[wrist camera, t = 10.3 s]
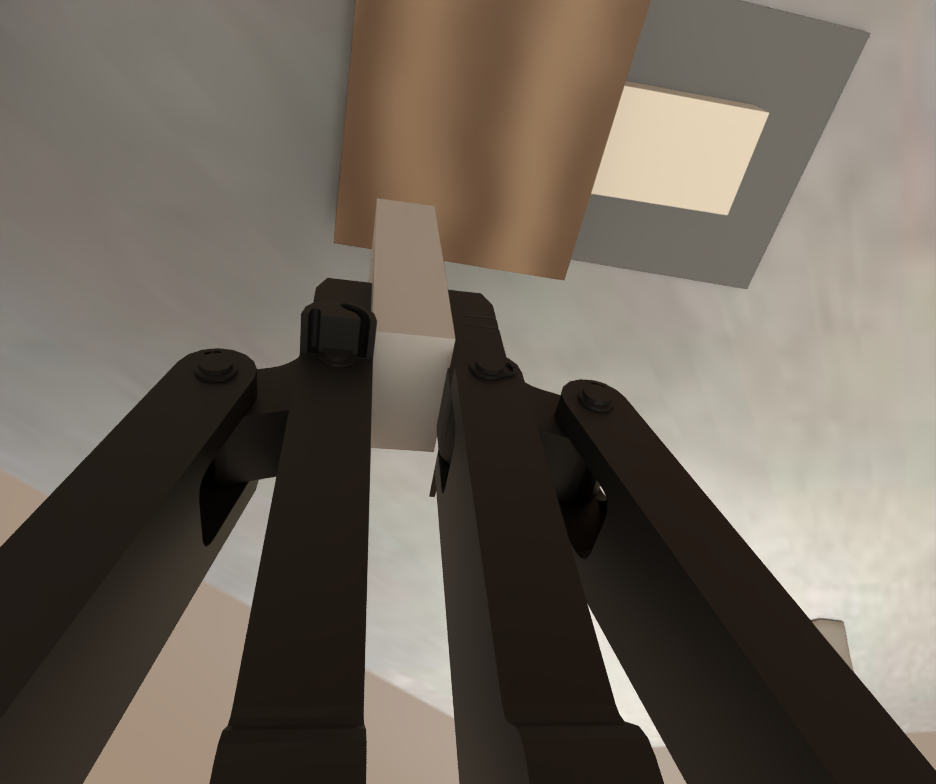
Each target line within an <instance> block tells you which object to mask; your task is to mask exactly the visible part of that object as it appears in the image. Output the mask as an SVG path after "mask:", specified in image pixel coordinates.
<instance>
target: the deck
mask: <svg viewBox="0 0 936 784" xmlns="http://www.w3.org/2000/svg"><path fill="white" fill-rule="evenodd" d="M650 2H651V0H356V4H355V15H354V26H353V37H352V48H351V59H350V70H349V80H348V91H347V102H346V113H345V124H344V135H343V146H342V157H341V168H340V178H339V189H338V200H337V211H336V222H335V233H334V243H337V244H343V245H349V246H355V247H362V248H368V249H372V244H373V234H374V224H375V213H376V203H377V198H379V199H386V200H394V201H401V202H408V203H416V204H423V205H431V206H435V211H436V218H437V224H438V231H439V237H440V244H441V250H442V256H443V261H448V262H454V263H460V264H466V265H472V266H479V267H485V268H491V269H497V270H503V271H509V272H515V273H522V274H528V275H534V276H540V277H546V278H552V279H559V280H565V276H566V273H567V270H568V267H569V263H570V260H571V257H572V254H573V250H574V247H575V244H576V241H577V238H578V234H579V231H580V228H581V225H582V221H583V218H584V215H585V212H586V208H587V205H588V202H589V199H590V195H591V192H592V189H593V186H594V183H595V179H596V176H597V173H598V170H599V166H600V163H601V160H602V157H603V153H604V150H605V147H606V144H607V141H608V137H609V134H610V131H611V128H612V124H613V121H614V118H615V115H616V111H617V108H618V105H619V102H620V99H621V95H622V92H623V89H624V86H625V82H626V79H627V76H628V73H629V69H630V66H631V63H632V60H633V56H634V53H635V50H636V47H637V44H638V40H639V37H640V34H641V31H642V27H643V24H644V21H645V18H646V14H647V11H648V8H649V5H650Z"/></svg>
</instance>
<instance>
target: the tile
mask: <svg viewBox="0 0 936 784" xmlns="http://www.w3.org/2000/svg"><path fill="white" fill-rule="evenodd" d="M768 115H769V112H767V111H765V110H763V109H761V108H759V107H757V106H755V105H751V104H746V103H741V102H735V101H730V100H725V99H719V98H714V97H709V96H704V95H698V94H693V93H688V92H682V91H677V90H672V89H666V88H661V87H656V86H650V85H645V84H640V83H634V82H629V81H626V82H625V86H624V89H623V92H622V95H621V99H620V102H619V105H618V108H617V111H616V115H615V118H614V121H613V124H612V128H611V131H610V134H609V137H608V141H607V144H606V147H605V150H604V153H603V157H602V160H601V163H600V166H599V170H598V173H597V176H596V179H595V183H594V186H593V189H592V192H591V194H597V195H603V196H609V197H615V198H622V199H628V200H634V201H641V202H647V203H653V204H659V205H666V206H672V207H678V208H684V209H691V210H697V211H703V212H710V213H716V214H722V215H728V213H729V210H730V208H731V206H732V203H733V201H734V198H735V196H736V193H737V191H738V188H739V186H740V184H741V181H742V179H743V176H744V174H745V171H746V169H747V166H748V164H749V161H750V159H751V157H752V154H753V152H754V149H755V147H756V144H757V142H758V139H759V137H760V135H761V132H762V130H763V127H764V125H765V122H766V120H767V117H768Z"/></svg>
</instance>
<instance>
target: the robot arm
mask: <svg viewBox="0 0 936 784" xmlns="http://www.w3.org/2000/svg"><path fill="white" fill-rule="evenodd" d="M437 437H438V448H439V449H438V454H437V460H436V465H435V470H434V475H433V480H432V485H431V490H430V495H429V497H435V494H436V492H437V505H438V518H439V530H440V543H441V555H442V568H443V581H444V593H445V606H446V619H447V631H448V644H449V657H450V669H451V682H452V695H453V707H454V720H455V732H456V745H457V758H458V769H459V782H460V784H664V782H663V779H662V776H661V773H660V769H659V766H658V763H657V759H656V756H655V754H654V752H653V749H652V747H651V744H650V742H649V739H648V737H647V736H646V735H645V733H644V732H643V731H642V730H641V728H640V727H639V726H637V725H634V724H631V723H628V722H625V721H624V720H623V719H622V717H621V716H620V714H619V712H618V709H617V707H616V704H615V700H614V697H613V693H612V690H611V686H610V683H609V679H608V676H607V672H606V669H605V665H604V661H603V658H602V654H601V651H600V647H599V644H598V640H597V637H596V633H595V630H594V626H593V622H592V619H591V615H590V612H589V608H588V605H589V607H590V609H591V611H592V613H593V615H594V616H595V618H596V620H597V622H598V624H599V625H600V627H601V629H602V631H603V633H604V635H605V636H606V638H607V640H608V642H609V644H610V645H611V647H612V649H613V651H614V653H615V654H616V656H617V658H618V660H619V662H620V664H621V665H622V667H623V669H624V671H625V673H626V674H627V676H628V678H629V680H630V682H631V683H632V685H633V687H634V689H635V691H636V693H637V694H638V696H639V698H640V700H641V702H642V703H643V705H644V707H645V709H646V711H647V713H648V714H649V716H650V718H651V720H652V722H653V723H654V725H655V727H656V729H657V731H658V732H659V734H660V736H661V738H662V740H663V742H664V743H665V745H666V747H667V749H668V751H669V752H670V754H671V756H672V758H673V760H674V762H675V763H676V765H677V767H678V769H679V771H680V772H681V774H682V776H683V778H684V780H685V781H686V783H687V784H936V770H935V769H934V768H933V767H932V766H931V764H930V763H929V762H928V761H927V760H926V758H925V757H924V756H923V755H922V754H921V752H920V751H919V750H918V749H917V748H916V746H915V745H914V744H913V743H912V742H911V740H910V739H909V738H908V737H907V736H906V734H905V733H904V732H903V731H902V730H901V728H900V727H899V726H898V725H897V724H896V722H895V721H894V720H893V719H892V717H891V716H890V715H889V714H888V713H887V711H886V710H885V709H884V708H883V707H882V705H881V704H880V703H879V702H878V701H877V699H876V698H875V697H874V696H873V695H872V693H871V692H870V691H869V690H868V689H867V687H866V686H865V685H864V684H863V683H862V681H861V680H860V679H859V678H858V677H857V675H856V674H855V673H854V672H853V671H852V669H851V668H850V667H849V666H848V665H847V663H846V662H845V661H844V660H843V659H842V657H841V656H840V655H839V654H838V653H837V651H836V650H835V649H834V648H833V647H832V645H831V644H830V643H829V642H828V641H827V639H826V638H825V637H824V636H823V635H822V633H821V632H820V631H819V630H818V629H817V627H816V626H815V625H814V624H813V623H812V621H811V620H810V619H809V618H808V617H807V615H806V614H805V613H804V612H803V611H802V609H801V608H800V607H799V606H798V605H797V603H796V602H795V601H794V600H793V599H792V597H791V596H790V595H789V594H788V593H787V591H786V590H785V589H784V588H783V587H782V585H781V584H780V583H779V582H778V581H777V579H776V578H775V577H774V576H773V574H772V573H771V572H770V571H769V570H768V568H767V567H766V566H765V565H764V564H763V562H762V561H761V560H760V559H759V558H758V556H757V555H756V554H755V553H754V552H753V550H752V549H751V548H750V547H749V546H748V544H747V543H746V542H745V541H744V540H743V538H742V537H741V536H740V535H739V534H738V532H737V531H736V530H735V529H734V528H733V526H732V525H731V524H730V523H729V522H728V520H727V519H726V518H725V517H724V516H723V514H722V513H721V512H720V511H719V510H718V508H717V507H716V506H715V505H714V504H713V502H712V501H711V500H710V499H709V498H708V496H707V495H706V494H705V493H704V492H703V490H702V489H701V488H700V487H699V486H698V484H697V483H696V482H695V481H694V480H693V478H692V477H691V476H690V475H689V474H688V472H687V471H686V470H685V469H684V468H683V466H682V465H681V464H680V463H679V462H678V460H677V459H676V458H675V457H674V456H673V454H672V453H671V452H670V451H669V450H668V448H667V447H666V446H665V445H664V444H663V442H662V441H661V440H660V439H659V438H658V436H657V435H656V434H655V433H654V431H653V430H652V429H651V428H650V427H649V425H648V424H647V423H646V422H645V421H644V419H643V418H642V417H641V416H640V415H639V413H638V412H637V411H636V410H635V409H634V407H633V406H632V405H631V404H630V403H629V401H628V400H627V399H626V398H625V397H624V396H623V395H622V394H621V393H619V392H618V391H617V390H616V389H614V388H612V387H610V386H608V385H606V384H604V383H601V382H598V381H593V380H575V381H571V382H569V383H567V384H566V385H565V386H563V389H562V392H561V395H558V394H555V393H551V392H548V391H544V390H541V389H538V388H536V387H533V386H531V385H529V384H527V383H525V381H524V378H523V374H522V372H521V370H520V369H519V367H518V365H517V364H515V363H514V362H513V361H511V360H510V359H509V358H506V354H505V351H504V347H503V343H502V339H501V335H500V331H499V330H498V324H497V320H496V316H495V312H494V309H493V305H492V304H491V303H490V302H489V301H488V300H487V299H486V298H485V297H484V296H483V295H482V294H481V293H472V292H463V291H454V290H448V289H447V282H446V276H445V269H444V263H443V256H442V250H441V244H440V237H439V231H438V224H437V218H436V211H435V206H431V205H423V204H416V203H408V202H401V201H394V200H386V199H379V198H377V203H376V213H375V224H374V234H373V244H372V255H371V265H370V275H369V283H368V282H359V281H350V280H341V279H332V278H327V279H326V280H325V281H323V282H322V283H321V284H320V285H319V286H318V287H316V291H315V296H314V302H313V303H312V304H310V305H308V306H306V307H305V309H304V310H303V312H302V313H301V336H300V355H299V357H298V358H297V359H295V360H294V361H292V362H290V363H288V364H285V365H282V366H278V367H272V368H265V369H257V368H256V366H255V363H254V361H253V360H252V359H250V358H249V357H248V356H247V355H245V354H242V353H240V352H237V351H234V350H228V349H219V348H217V349H206V350H200V351H197V352H194V353H191V354H188V355H187V356H185V357H184V358H182V359H181V360H179V361H178V362H177V363H176V364H175V365H174V366H173V367H172V368H171V369H170V370H169V371H168V373H167V374H166V375H165V376H164V377H163V378H162V379H161V380H160V381H159V382H158V383H157V384H156V385H155V386H154V387H153V388H152V389H151V390H150V391H149V392H148V393H147V394H146V395H145V397H144V398H143V399H142V400H141V401H140V402H139V403H138V404H137V405H136V406H135V407H134V408H133V409H132V410H131V411H130V412H129V413H128V414H127V415H126V416H125V417H124V418H123V420H122V421H121V422H120V423H119V424H118V425H117V426H116V427H115V428H114V429H113V430H112V431H111V432H110V433H109V434H108V435H107V436H106V437H105V438H104V439H103V440H102V441H101V442H100V444H99V445H98V446H97V447H96V448H95V449H94V450H93V451H92V452H91V453H90V454H89V455H88V456H87V457H86V458H85V459H84V460H83V461H82V462H81V463H80V464H79V465H78V467H77V468H76V469H75V470H74V471H73V472H72V473H71V474H70V475H69V476H68V477H67V478H66V479H65V480H64V481H63V482H62V483H61V484H60V485H59V486H58V487H57V488H56V489H55V491H54V492H53V493H52V494H51V495H50V496H49V497H48V498H47V499H46V500H45V501H44V502H43V503H42V504H41V505H40V506H39V507H38V508H37V509H36V510H35V512H34V513H33V514H32V515H31V516H30V517H29V518H28V519H27V520H26V521H25V522H24V523H23V524H22V525H21V526H20V527H19V528H18V529H17V530H16V531H15V533H14V534H12V536H10V538H9V539H8V540H7V541H6V542H5V543H4V544H3V545H2V546H1V547H0V784H83V782H84V780H85V779H86V777H87V776H88V774H89V772H90V770H91V769H92V767H93V765H94V764H95V762H96V760H97V758H98V757H99V755H100V754H101V752H102V750H103V748H104V747H105V745H106V743H107V741H108V740H109V738H110V736H111V735H112V733H113V731H114V730H115V728H116V726H117V725H118V723H119V721H120V720H121V718H122V716H123V714H124V713H125V711H126V709H127V708H128V706H129V704H130V703H131V701H132V699H133V698H134V696H135V694H136V692H137V691H138V689H139V687H140V685H141V684H142V682H143V681H144V679H145V677H146V675H147V674H148V672H149V670H150V669H151V667H152V665H153V663H154V662H155V660H156V658H157V657H158V655H159V653H160V652H161V650H162V648H163V646H164V645H165V643H166V641H167V640H168V638H169V636H170V635H171V633H172V631H173V630H174V628H175V626H176V624H177V623H178V621H179V619H180V618H181V616H182V614H183V613H184V611H185V609H186V607H187V606H188V604H189V602H190V601H191V599H192V597H193V596H194V594H195V592H196V591H197V589H198V587H199V585H200V584H201V582H202V580H203V579H204V577H205V575H206V574H207V572H208V570H209V568H210V567H211V565H212V563H213V562H214V560H215V558H216V557H217V555H218V553H219V552H220V550H221V548H222V546H223V545H224V543H225V541H226V540H227V538H228V536H229V535H230V533H231V531H232V529H233V528H234V526H235V524H236V523H237V521H238V519H239V518H240V516H241V514H242V512H243V511H244V509H245V507H246V506H247V504H248V502H249V501H250V499H251V497H252V495H253V494H254V492H255V490H256V487H257V484H258V480H259V479H265V478H270V477H276V482H275V487H274V492H273V497H272V503H271V508H270V513H269V518H268V524H267V529H266V534H265V539H264V545H263V550H262V555H261V561H260V566H259V571H258V576H257V582H256V587H255V592H254V597H253V603H252V608H251V613H250V619H249V624H248V629H247V634H246V639H245V645H244V651H243V655H242V661H241V666H240V671H239V676H238V682H237V687H236V692H235V697H234V703H233V708H232V712H231V717H230V720H229V723H228V726H227V727H226V728H225V729H224V730H223V731H222V734H221V737H220V740H219V743H218V747H217V751H216V755H215V760H214V764H213V769H212V774H211V779H210V784H366V743H367V741H366V728H365V725H364V675H365V641H366V604H367V567H368V530H369V493H370V456H371V448H383V449H397V450H412V451H427V452H434V448H435V443H436V438H437ZM600 486H601V487H602V489H603V491H604V493H605V495H606V496H605V495H604V494H603V492H602V491H601V489H600ZM587 604H588V605H587Z"/></svg>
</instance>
